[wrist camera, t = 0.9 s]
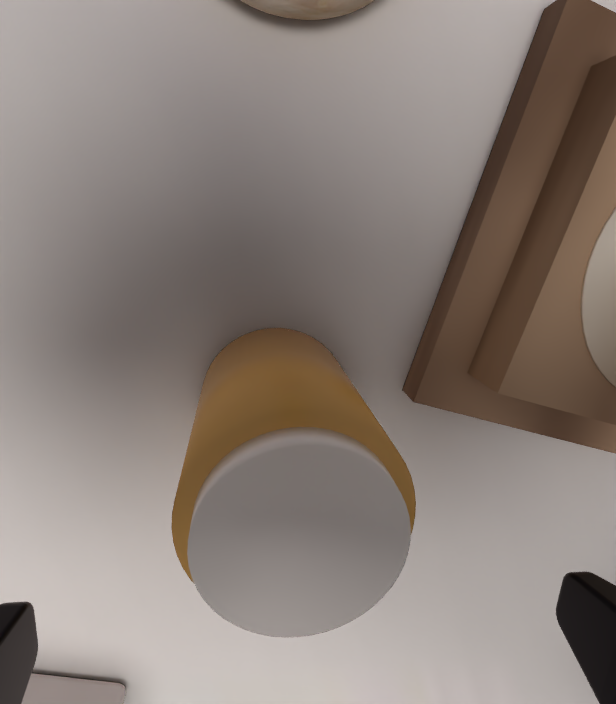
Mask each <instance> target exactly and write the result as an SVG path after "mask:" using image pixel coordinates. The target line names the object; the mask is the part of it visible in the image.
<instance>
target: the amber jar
mask: <svg viewBox="0 0 616 704" xmlns="http://www.w3.org/2000/svg"><path fill="white" fill-rule="evenodd" d="M415 507H416V501H415V491H414V486H413V482H412V478H411V475H410V473H409V470H408V468H407V466H406V463H405V462H404V460H403V459H402V457H401V455H400V454H399V452H398V451H397V449H396V448H395V446H394V445H393V443H392V442H391V440H390V439H389V437H388V436H387V434H386V433H385V431H384V430H383V428H382V427H381V425H380V424H379V422H378V421H377V420H376V418H375V417H374V415H373V414H372V412H371V411H370V409H369V408H368V406H367V405H366V403H365V402H364V400H363V399H362V397H361V396H360V394H359V393H358V391H357V390H356V388H355V387H354V385H353V384H352V383H351V381H350V380H349V378H348V377H347V375H346V374H345V372H344V371H343V369H342V368H341V366H340V365H339V363H338V362H337V360H336V359H335V357H334V356H333V355H332V354H331V352H330V351H329V350H328V349H327V348H326V347H325V346H324V345H323V344H322V343H320V342H319V341H317V340H316V339H314V338H313V337H311V336H309V335H307V334H304V333H302V332H299V331H296V330H291V329H285V328H267V329H261V330H256V331H253V332H250V333H247V334H245V335H243V336H241V337H239V338H237V339H236V340H234V341H232V342H231V343H230V344H228V345H227V346H226V347H225V348H224V349H223V350H222V351H221V352H220V353H219V354H218V355H217V356H216V358H215V359H214V361H213V362H212V363H211V365H210V367H209V369H208V371H207V373H206V376H205V379H204V382H203V387H202V391H201V395H200V399H199V403H198V407H197V411H196V415H195V419H194V423H193V427H192V431H191V436H190V440H189V444H188V448H187V452H186V456H185V460H184V464H183V468H182V472H181V476H180V480H179V485H178V489H177V493H176V497H175V501H174V507H173V512H172V535H173V543H174V546H175V549H176V553H177V556H178V558H179V560H180V563H181V565H182V567H183V569H184V570H185V572H186V573H187V575H188V576H189V578H190V579H191V581H192V582H193V583H194V584H195V586H196V588H197V590H198V592H199V593H200V595H201V596H202V598H203V599H204V601H205V602H206V603H207V604H208V605H209V606H210V607H211V608H212V609H213V610H214V611H215V612H216V613H217V614H219V615H220V616H221V617H222V618H224V619H225V620H227V621H229V622H230V623H232V624H234V625H236V626H238V627H240V628H242V629H245V630H247V631H251V632H254V633H257V634H262V635H267V636H273V637H302V636H309V635H315V634H319V633H323V632H327V631H329V630H332V629H335V628H338V627H340V626H342V625H344V624H347V623H349V622H351V621H352V620H354V619H356V618H357V617H359V616H361V615H362V614H364V613H365V612H366V611H368V610H369V609H370V608H372V607H373V606H374V605H375V604H376V603H377V602H378V601H379V600H380V599H381V598H383V596H384V595H385V594H386V593H387V592H388V590H389V589H390V588H391V587H392V585H393V584H394V582H395V581H396V579H397V578H398V576H399V574H400V572H401V570H402V568H403V566H404V563H405V561H406V558H407V555H408V550H409V545H410V536H411V533H412V530H413V525H414V519H415Z"/></svg>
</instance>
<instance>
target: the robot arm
mask: <svg viewBox="0 0 616 704" xmlns="http://www.w3.org/2000/svg"><path fill="white" fill-rule="evenodd" d="M556 616H557V620H558V623H559V625H560V627H561V629H562V631H563V633H564V635H565V637H566V639H567V641H568V643H569V645H570V647H571V649H572V651H573V653H574V655H575V657H576V659H577V661H578V662H579V664H580V666H581V668H582V670H583V672H584V674H585V676H586V678H587V680H588V682H589V684H590V686H591V688H592V690H593V692H594V694H595V696H596V697H597V699H598V701H599V703H600V704H616V586H615V585H613V584H611V583H610V582H608V581H606V580H604V579H602V578H600V577H599V576H597V575H595V574H593V573H590V572H570V573H567V574H566V575H565V576H564V578H563V581H562V586H561V590H560V594H559V598H558V602H557V606H556ZM37 651H38V639H37V631H36V623H35V615H34V609H33V606H32V604H31V603H29V602H12V603H3V604H1V605H0V704H21V703H22V700H23V697H24V694H25V691H26V688H27V685H28V682H29V679H30V676H31V673H32V670H33V667H34V664H35V661H36V657H37Z"/></svg>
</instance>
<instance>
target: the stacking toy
mask: <svg viewBox="0 0 616 704" xmlns="http://www.w3.org/2000/svg"><path fill="white" fill-rule="evenodd" d="M240 1H242V2H244V3H246V4H247V5H249V6H251V7H253V8H256V9H258V10H260V11H263V12H265V13H269V14H273V15H277V16H281V17H284V18H292V19H301V20H319V19H328V18H334V17H338V16H343V15H346V14H349V13H351V12H354V11H356V10H359V9H361V8H363V7H365V6H367V5H368V4H370V3H372V2H373V1H375V0H240Z"/></svg>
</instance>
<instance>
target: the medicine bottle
mask: <svg viewBox="0 0 616 704" xmlns="http://www.w3.org/2000/svg"><path fill="white" fill-rule="evenodd" d="M124 699H125V687H124V686H123V685H122V684H120V683H114V682H105V681H96V680H87V679H78V678H69V677H61V676H52V675H43V674H34V673H31V676H30V679H29V682H28V685H27V688H26V691H25V694H24V697H23V700H22V703H21V704H123V703H124Z"/></svg>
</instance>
